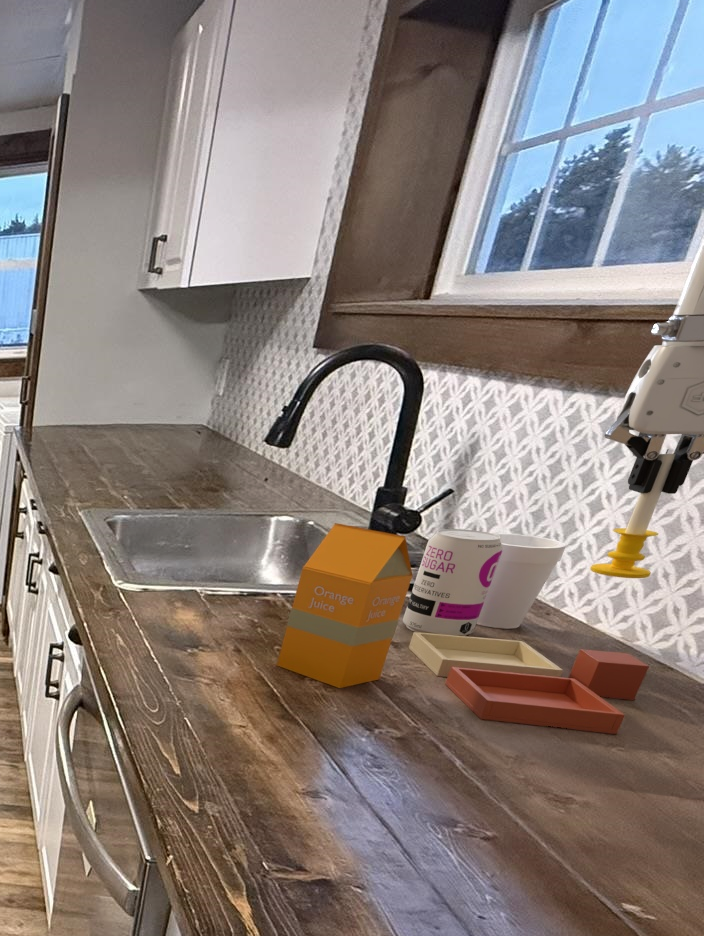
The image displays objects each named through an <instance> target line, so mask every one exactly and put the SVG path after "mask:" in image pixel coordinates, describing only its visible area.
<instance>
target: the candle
mask: <svg viewBox="0 0 704 936" xmlns="http://www.w3.org/2000/svg"><path fill="white" fill-rule="evenodd" d="M674 457H675V454H673V453H669V449H668V448H667V449H666V452H665V453H660V454H659V457H658V460H661V461H662V465H661V467H660V470H659V472H658V475H657V477H656V480H655V482H654V485H653V487H652V490H651V492H648V493H639V496H638V499H637V501H636V503H635V506H634V509H633V511H632V513H631V515H630V519H629V521H628V523H627V526H626V528H614V529H613V530H612V531H613V532H614V533H617V534H619V536H620V537H619V539H620V540H619V541H618V542H617V543H616V550H612V551H609V552H607V555H606V556H607V558H611V559H612V560H611V562H610V563H595V564H592V565H591V566H590V571H591V572H593V573H595V574H599V575H603V576H608V577H614V578H622V579H623V578H624V579H646V578H649V577H650V576H651V574H652V572H651V571H650V570H649V569H646V568H643V567H638V566H635V565H636V562H640V561H644V560H645V558H646V555H644V554H642V553H640V552H641V551H642V549H643V548H644V545H645V542H646V541H647V538H648V537H654V536H655V537H656V536H658V535H659V532H657V531H653V530H649V529H648V527H649V525H650V522H651V520H652V516H653V515H654V512H655V509H656V507H657V505H658V502H659V500H660V496H661V494H662V493H663V492H662V489H663V487H664V484H665V482H666V479H667V476H668V474H669V471H670V469H671V466H672V463H673V460H674Z"/></svg>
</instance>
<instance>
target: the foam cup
mask: <svg viewBox="0 0 704 936" xmlns="http://www.w3.org/2000/svg"><path fill="white" fill-rule="evenodd" d="M492 534H496V535H498V536H500V537H501V539H500V541H501V544H502V547H503V551H502V553H501V556H500V559H499V562H498V565H497V567H496V570H495V573H494V576H493V578H492V581H491V584H490V587H489V590H488V592H487V595H486V598H485V601H484V604H483V606H482V609H481V612H480V615H479V617H478V620H477V623H476V625H478V626H482V627H487V628H495V629H505V630H506V629H507V630H508V629H517V628H519V627H520V626H521V625H522V623H523V621H524V620H525V618H526V616H527V615H528V613H529V612H530V609H531V608H532V606H533V604H534V603H535V601H536V599H537V598H538V596H539V594H540V592H541V591H542V589H543V587H544V586H545V584H546V583H547V581H548V579H549V577H550V575H551V574H552V572H553V570H554V569H555V567H556V566H557V564H558V562H561V560H562V557H563V554H564V552H565V549H566V547H567V545H566V544H565V542H563V541H559V540H556V539H553V538H548V537H542V536H537V535H529V534H520V533H503V532H500V533H499V532H495V533H493V532H492Z"/></svg>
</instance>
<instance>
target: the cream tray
mask: <svg viewBox="0 0 704 936" xmlns="http://www.w3.org/2000/svg"><path fill="white" fill-rule="evenodd" d="M408 649H409V650H410V651H411V652H412V653H413V654H414V655H415V656H416V657H417V658H418V659H419V660H420V661H421V662H422V663H423V664H424V665H425V666H426V667H428V669H429V670H430V671H431V672H432V673H434V675H435V676H437V677H444V678H447V677H448V675H449V672H450V669H451V667H459V668H469V669H480V670H490V671H501V672H511V673H522V674H532V675H543V676H553V677H562V674H563V672H564V670H563V668H560V666H558V665H557V664H556V663H554V662H553V661H551V660H550V659H549V658H547V657H546V656H544V655H543V654H542V653H540V652H539V651H537V650H536V649H535V648H533V647H532V646H530V645H529V644H527V643H526V642H525V641H524V640H514V639H502V638H490V637H479V636H467V635H466V636H456V635H444V634H432V633H420V632H415V631H413V633H412V636H411V639H410V642H409V645H408Z"/></svg>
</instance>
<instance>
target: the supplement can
mask: <svg viewBox="0 0 704 936" xmlns="http://www.w3.org/2000/svg"><path fill="white" fill-rule="evenodd" d="M500 539H501V537H500V536H498V535H496V534H493V532H487V531H481V530H473V529H463V528H461V529H460V528H443V529H439V530H437V531H436V533H435V534H434V535H433V536H432V537H430V538H429V539H428V540H427V543H426V545H425V546H426V547H425V550H424V553H423V556H422V559H421V562H420V565H419V569H418V571H417V575H416V578H415V580H414V584H413V587H412V590H411V593H410V596H409V599H408V603H407V605H406V609H405V612H404V614H403V617H402V622H403V624H404V625H405V626H406V629H409V630H410V631H413V632H420V633H432V634H444V635H456V636H467V635H471V634H472V633H473V632H474V631H475V628H476V625H477V624H476V623H477V620H478V617H479V615H480V612H481V609H482V606H483V604H484V601H485V598H486V595H487V592H488V590H489V587H490V584H491V581H492V578H493V576H494V573H495V570H496V567H497V565H498V562H499V559H500V556H501V553H502V551H503V547H502V544H501V541H500Z"/></svg>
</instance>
